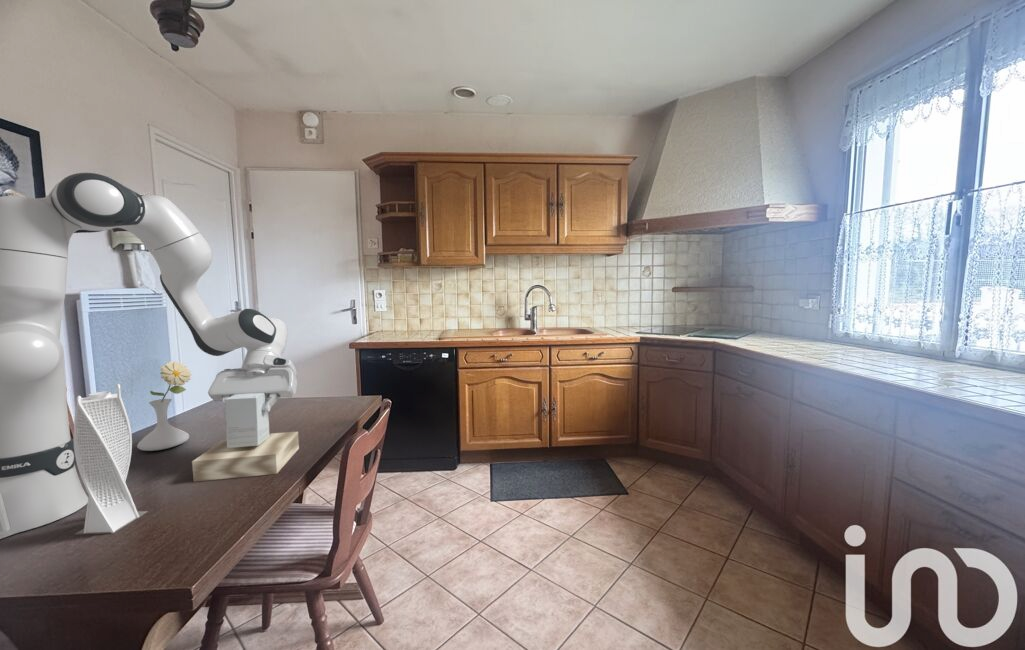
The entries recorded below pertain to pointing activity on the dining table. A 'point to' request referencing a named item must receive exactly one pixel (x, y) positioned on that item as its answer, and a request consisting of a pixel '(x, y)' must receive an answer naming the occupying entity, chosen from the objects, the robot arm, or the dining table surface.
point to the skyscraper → (104, 461)
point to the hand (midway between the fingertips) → (246, 412)
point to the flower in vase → (164, 432)
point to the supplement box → (246, 420)
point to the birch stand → (246, 458)
